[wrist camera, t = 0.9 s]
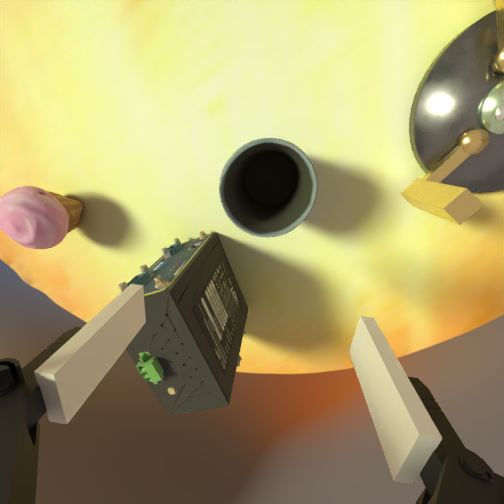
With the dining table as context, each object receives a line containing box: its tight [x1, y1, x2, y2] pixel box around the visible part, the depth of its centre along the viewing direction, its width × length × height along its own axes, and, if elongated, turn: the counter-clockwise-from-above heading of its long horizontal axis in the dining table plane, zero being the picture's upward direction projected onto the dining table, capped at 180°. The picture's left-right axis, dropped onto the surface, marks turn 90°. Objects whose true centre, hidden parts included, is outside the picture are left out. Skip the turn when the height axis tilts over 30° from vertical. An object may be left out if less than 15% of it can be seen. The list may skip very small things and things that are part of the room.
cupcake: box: [0, 186, 83, 249], centre depth 37 cm, size 9×9×10 cm
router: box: [118, 231, 248, 415], centre depth 35 cm, size 8×18×20 cm, turn 20°
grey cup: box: [219, 138, 317, 237], centre depth 32 cm, size 10×10×12 cm
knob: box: [401, 129, 489, 225], centre depth 28 cm, size 11×3×10 cm, turn 141°
